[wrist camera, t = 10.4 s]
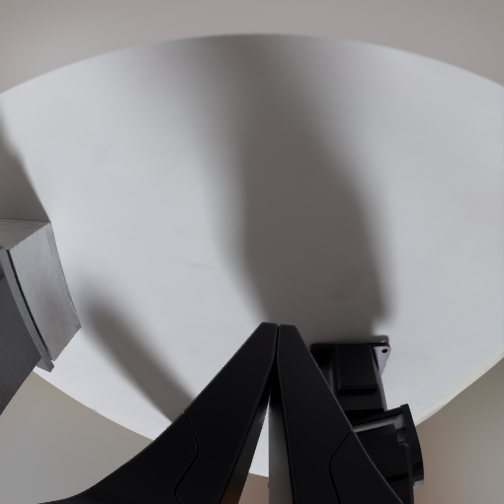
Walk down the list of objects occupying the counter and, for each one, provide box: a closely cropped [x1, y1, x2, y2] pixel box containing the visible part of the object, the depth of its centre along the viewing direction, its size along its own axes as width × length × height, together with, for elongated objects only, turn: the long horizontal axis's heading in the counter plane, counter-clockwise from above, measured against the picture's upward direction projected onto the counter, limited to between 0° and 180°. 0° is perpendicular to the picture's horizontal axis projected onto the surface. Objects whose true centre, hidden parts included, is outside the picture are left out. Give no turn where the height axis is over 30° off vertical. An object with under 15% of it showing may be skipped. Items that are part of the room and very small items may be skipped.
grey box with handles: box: [0, 219, 81, 361], centre depth 21 cm, size 10×15×5 cm, turn 178°
